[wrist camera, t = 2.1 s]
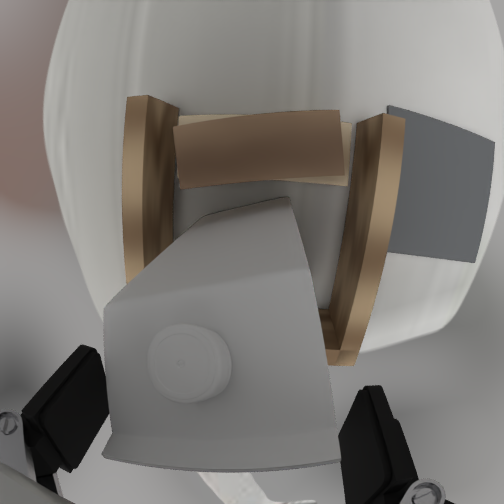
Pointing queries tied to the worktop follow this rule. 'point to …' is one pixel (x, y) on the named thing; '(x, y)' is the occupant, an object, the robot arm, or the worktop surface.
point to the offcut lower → (320, 180)
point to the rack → (355, 231)
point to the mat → (441, 189)
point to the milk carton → (222, 352)
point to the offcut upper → (259, 148)
